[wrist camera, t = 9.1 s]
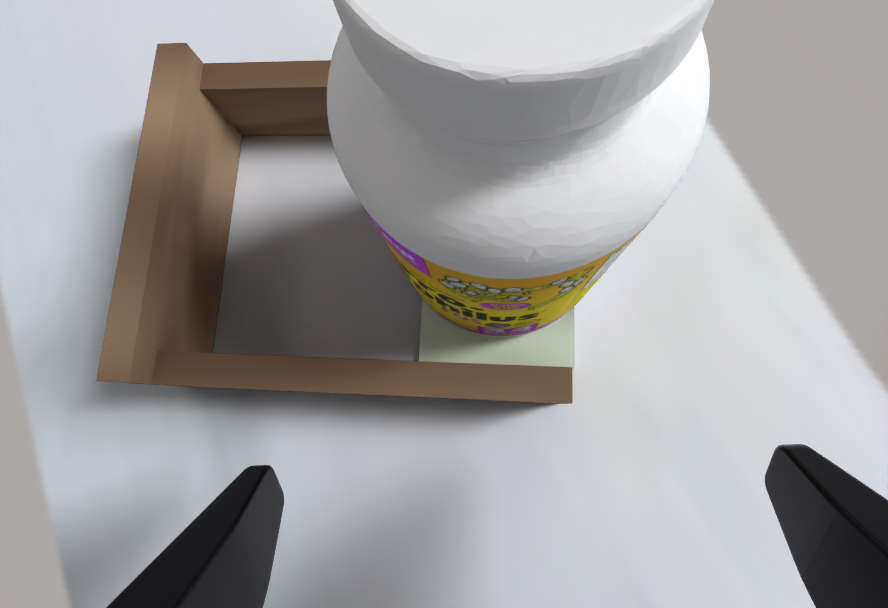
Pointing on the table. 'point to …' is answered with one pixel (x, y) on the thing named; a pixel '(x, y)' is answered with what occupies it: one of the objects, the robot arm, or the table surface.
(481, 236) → the supplement bottle
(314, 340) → the table surface
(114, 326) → the bay
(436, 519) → the table surface
